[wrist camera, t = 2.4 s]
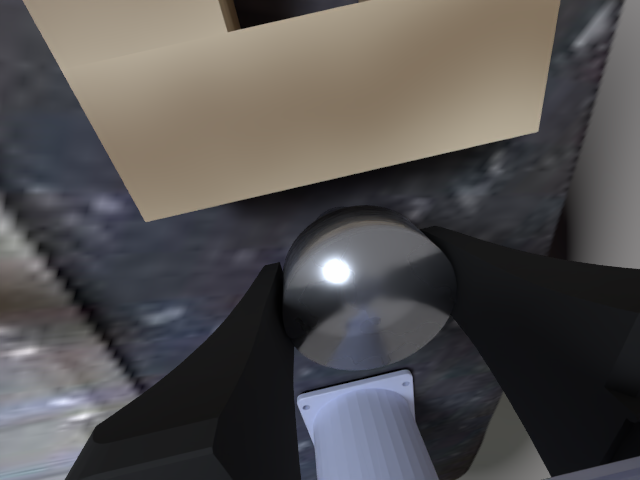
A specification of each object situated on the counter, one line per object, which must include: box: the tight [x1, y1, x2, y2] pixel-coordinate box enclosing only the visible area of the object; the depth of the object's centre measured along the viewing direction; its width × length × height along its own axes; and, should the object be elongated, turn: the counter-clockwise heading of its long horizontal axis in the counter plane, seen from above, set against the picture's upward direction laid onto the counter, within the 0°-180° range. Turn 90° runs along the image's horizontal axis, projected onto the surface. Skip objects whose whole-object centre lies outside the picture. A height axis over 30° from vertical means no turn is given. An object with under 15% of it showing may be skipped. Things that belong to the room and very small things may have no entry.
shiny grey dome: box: [282, 205, 457, 370], centre depth 11 cm, size 6×6×6 cm
